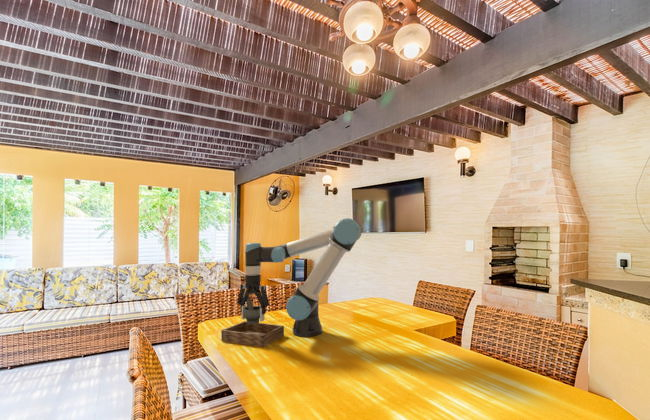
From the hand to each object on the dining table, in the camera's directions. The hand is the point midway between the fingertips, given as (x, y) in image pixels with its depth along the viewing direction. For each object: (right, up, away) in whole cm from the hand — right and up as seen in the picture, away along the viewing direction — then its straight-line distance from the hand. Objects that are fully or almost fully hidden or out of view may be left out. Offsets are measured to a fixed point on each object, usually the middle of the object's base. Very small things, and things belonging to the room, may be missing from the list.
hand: (252, 319), depth 172 cm
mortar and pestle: (0, -1, 0) cm, 2 cm away
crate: (0, -9, 0) cm, 9 cm away
